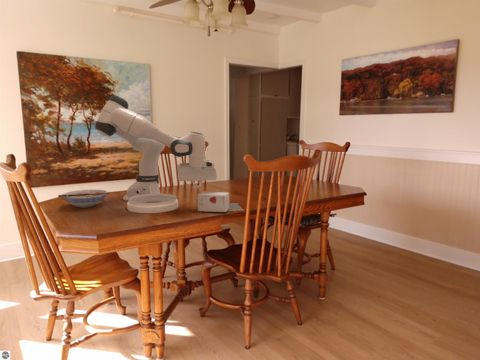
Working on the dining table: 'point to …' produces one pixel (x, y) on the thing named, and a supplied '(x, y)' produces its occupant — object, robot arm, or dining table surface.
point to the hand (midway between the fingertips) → (197, 188)
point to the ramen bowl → (84, 197)
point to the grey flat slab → (233, 207)
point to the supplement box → (213, 201)
